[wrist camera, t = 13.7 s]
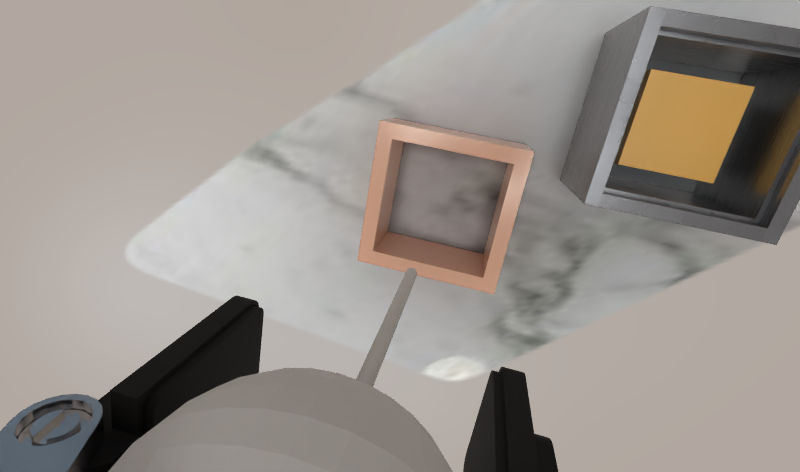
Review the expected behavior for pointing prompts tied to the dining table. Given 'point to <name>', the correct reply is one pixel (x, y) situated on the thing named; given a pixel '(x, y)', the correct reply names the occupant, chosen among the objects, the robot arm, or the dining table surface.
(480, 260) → the tool holder
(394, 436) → the lollipop
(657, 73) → the tan square block
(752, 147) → the box
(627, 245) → the dining table surface
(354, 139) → the dining table surface
